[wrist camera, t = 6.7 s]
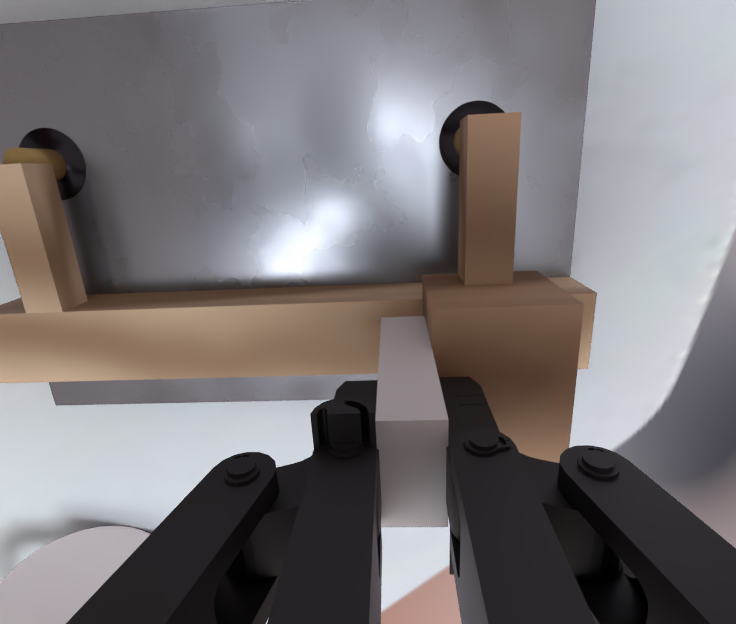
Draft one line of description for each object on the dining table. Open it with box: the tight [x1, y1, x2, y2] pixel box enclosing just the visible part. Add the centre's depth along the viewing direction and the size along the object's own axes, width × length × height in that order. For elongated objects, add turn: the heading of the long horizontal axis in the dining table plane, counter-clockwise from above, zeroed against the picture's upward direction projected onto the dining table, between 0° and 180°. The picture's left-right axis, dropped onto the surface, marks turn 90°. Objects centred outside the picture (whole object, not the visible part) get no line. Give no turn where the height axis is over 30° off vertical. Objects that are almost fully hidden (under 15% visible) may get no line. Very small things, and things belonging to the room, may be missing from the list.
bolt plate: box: [0, 0, 596, 405], centre depth 19 cm, size 16×24×1 cm, turn 93°
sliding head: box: [422, 112, 584, 463], centre depth 15 cm, size 10×4×6 cm, turn 3°
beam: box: [0, 147, 597, 383], centre depth 17 cm, size 9×24×2 cm, turn 93°
